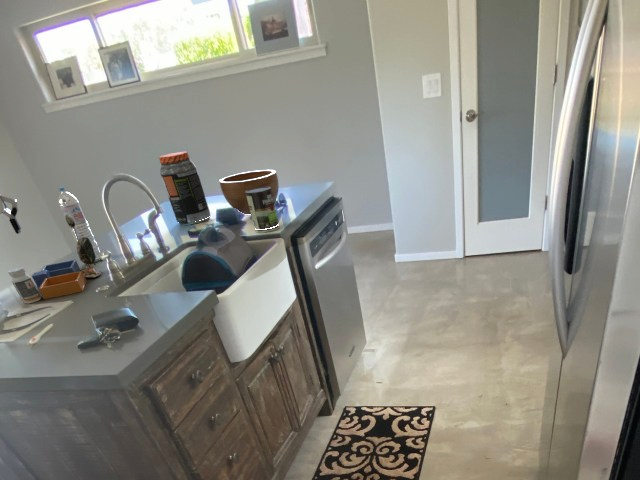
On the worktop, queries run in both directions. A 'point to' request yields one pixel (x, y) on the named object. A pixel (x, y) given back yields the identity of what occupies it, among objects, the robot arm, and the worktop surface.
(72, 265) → the blue bin
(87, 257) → the plant with pod
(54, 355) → the worktop surface
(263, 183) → the bowl
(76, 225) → the water bottle
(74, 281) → the amber bin
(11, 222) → the robot arm
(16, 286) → the pill bottle
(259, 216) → the coffee can
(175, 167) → the supplement tub
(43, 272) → the blue block
